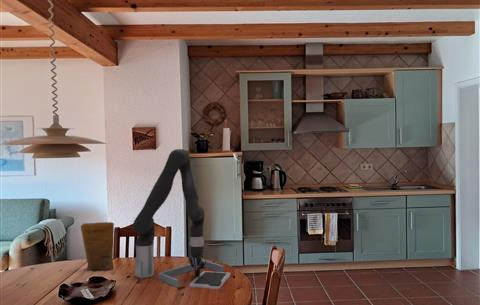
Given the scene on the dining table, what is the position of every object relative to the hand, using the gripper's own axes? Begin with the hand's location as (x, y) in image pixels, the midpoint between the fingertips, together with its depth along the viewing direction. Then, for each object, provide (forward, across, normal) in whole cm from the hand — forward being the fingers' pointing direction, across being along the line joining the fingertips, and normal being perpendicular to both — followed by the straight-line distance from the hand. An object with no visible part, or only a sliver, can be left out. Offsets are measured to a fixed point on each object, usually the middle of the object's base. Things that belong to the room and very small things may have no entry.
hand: (197, 276), depth 207 cm
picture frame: (+2, +9, +2) cm, 9 cm away
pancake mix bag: (+2, -54, -30) cm, 61 cm away
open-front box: (+1, -4, 0) cm, 5 cm away
